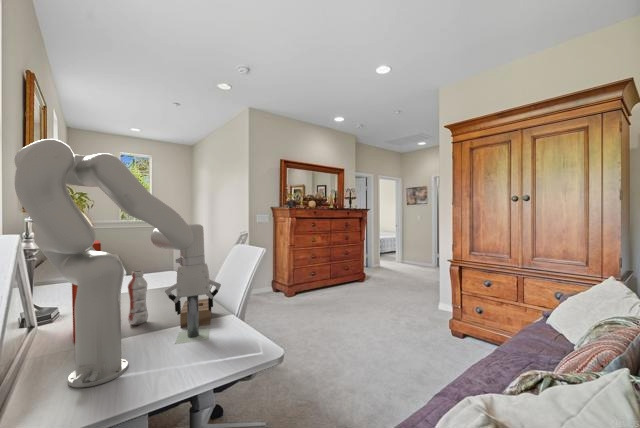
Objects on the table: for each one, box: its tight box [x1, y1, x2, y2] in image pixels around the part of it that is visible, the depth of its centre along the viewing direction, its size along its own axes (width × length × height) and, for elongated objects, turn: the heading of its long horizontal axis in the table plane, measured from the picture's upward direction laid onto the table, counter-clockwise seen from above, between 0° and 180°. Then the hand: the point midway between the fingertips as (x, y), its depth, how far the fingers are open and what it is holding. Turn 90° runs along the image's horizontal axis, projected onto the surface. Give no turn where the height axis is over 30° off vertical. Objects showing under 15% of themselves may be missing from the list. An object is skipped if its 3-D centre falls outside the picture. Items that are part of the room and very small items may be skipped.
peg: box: [186, 295, 200, 338], centre depth 99 cm, size 4×4×14 cm
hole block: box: [179, 298, 212, 329], centre depth 115 cm, size 16×10×6 cm, turn 19°
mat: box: [174, 328, 211, 345], centre depth 99 cm, size 10×10×1 cm
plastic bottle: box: [127, 270, 149, 326], centre depth 112 cm, size 6×7×20 cm
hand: (194, 311), depth 100 cm, fingers open, 9 cm apart
